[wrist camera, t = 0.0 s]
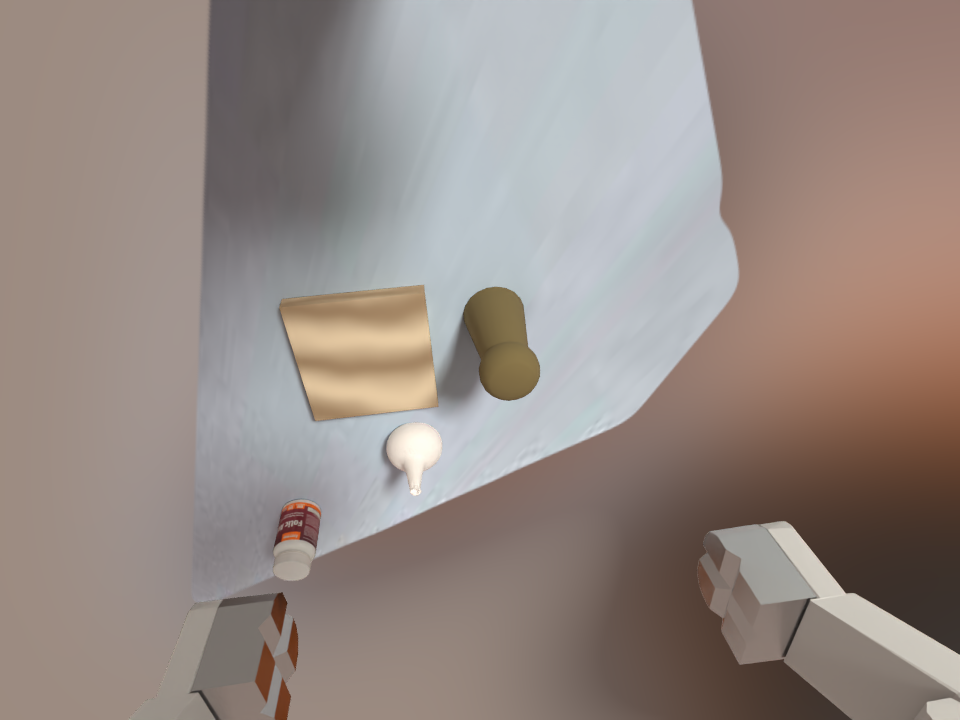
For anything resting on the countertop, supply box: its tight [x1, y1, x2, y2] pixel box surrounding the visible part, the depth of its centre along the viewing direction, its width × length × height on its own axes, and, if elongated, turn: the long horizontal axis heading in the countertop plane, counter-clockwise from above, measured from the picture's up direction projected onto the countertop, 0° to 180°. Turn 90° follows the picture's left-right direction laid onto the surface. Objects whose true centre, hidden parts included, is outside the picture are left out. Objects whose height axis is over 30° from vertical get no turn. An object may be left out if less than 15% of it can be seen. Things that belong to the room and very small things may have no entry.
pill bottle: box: [273, 499, 321, 581], centre depth 64 cm, size 5×5×8 cm
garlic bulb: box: [387, 422, 442, 496], centre depth 59 cm, size 6×6×8 cm
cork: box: [463, 287, 540, 401], centre depth 49 cm, size 6×6×11 cm
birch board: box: [279, 285, 438, 421], centre depth 53 cm, size 14×13×2 cm
